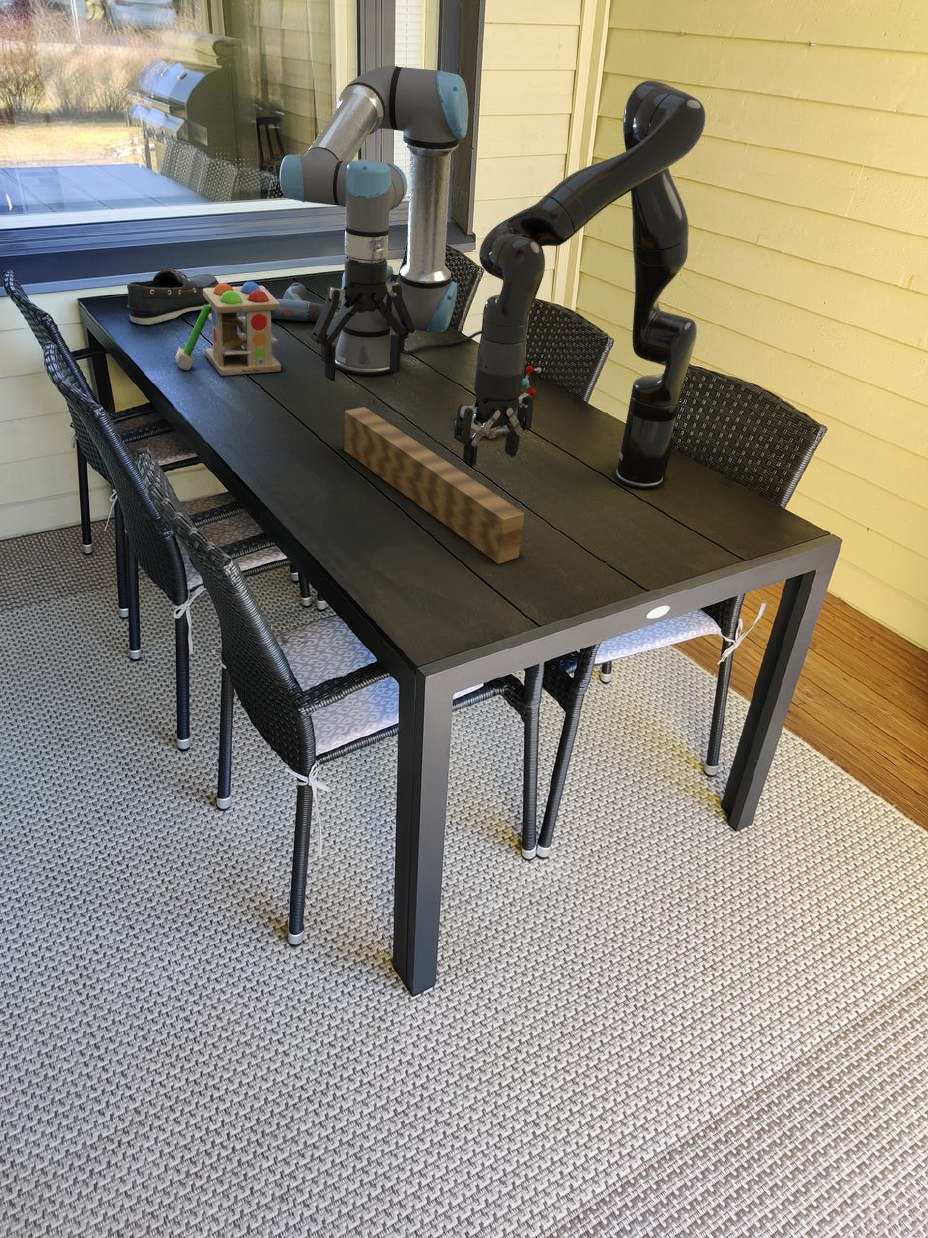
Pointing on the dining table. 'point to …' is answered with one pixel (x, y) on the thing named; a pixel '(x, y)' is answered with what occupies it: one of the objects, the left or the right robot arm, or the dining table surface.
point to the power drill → (297, 306)
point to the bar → (435, 485)
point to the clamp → (493, 431)
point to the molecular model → (526, 381)
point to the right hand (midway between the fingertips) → (490, 459)
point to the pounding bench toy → (229, 347)
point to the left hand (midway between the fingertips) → (362, 374)
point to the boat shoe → (167, 296)
